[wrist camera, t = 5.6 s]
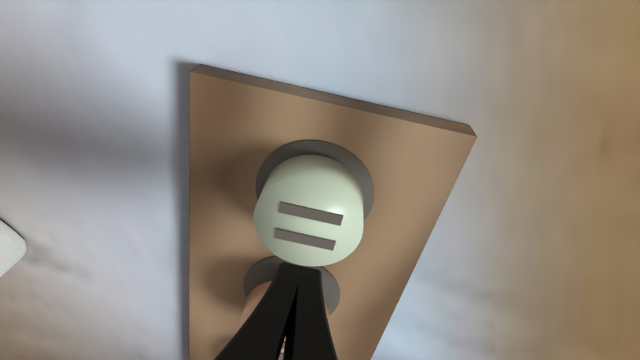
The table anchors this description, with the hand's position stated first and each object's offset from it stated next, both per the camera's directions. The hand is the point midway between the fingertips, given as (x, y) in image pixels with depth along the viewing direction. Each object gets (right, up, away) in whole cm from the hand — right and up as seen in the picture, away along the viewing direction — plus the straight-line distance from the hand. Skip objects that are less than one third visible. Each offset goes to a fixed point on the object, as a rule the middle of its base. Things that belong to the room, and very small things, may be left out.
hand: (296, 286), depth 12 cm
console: (-1, -2, +10) cm, 10 cm away
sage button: (0, +3, +4) cm, 5 cm away
